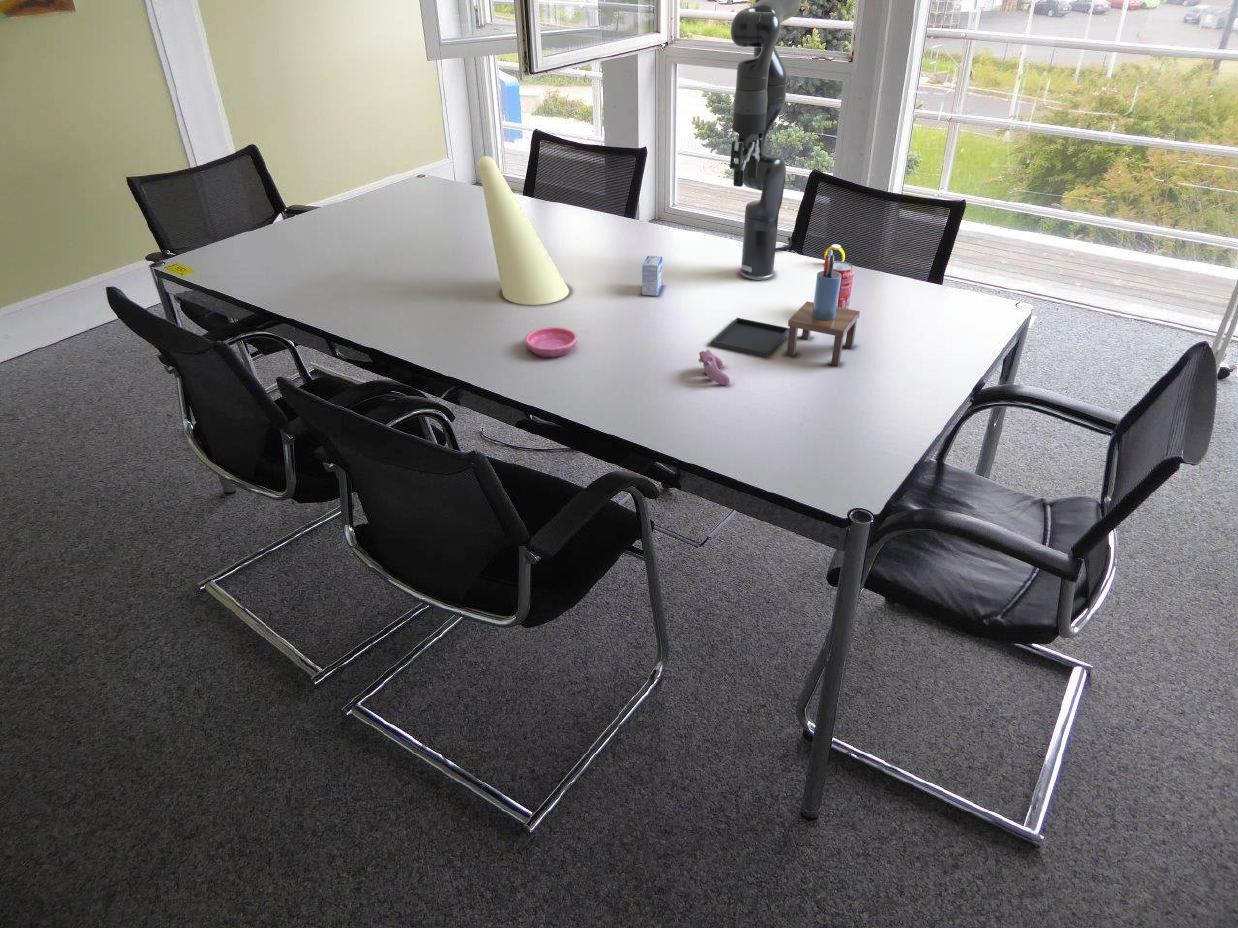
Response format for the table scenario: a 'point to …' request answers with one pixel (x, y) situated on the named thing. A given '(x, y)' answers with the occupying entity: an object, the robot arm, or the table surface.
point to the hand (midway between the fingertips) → (745, 182)
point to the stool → (823, 328)
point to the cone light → (517, 245)
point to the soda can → (844, 282)
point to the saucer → (551, 341)
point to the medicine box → (652, 275)
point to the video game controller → (713, 367)
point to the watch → (836, 247)
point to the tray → (750, 337)
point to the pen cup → (827, 291)
